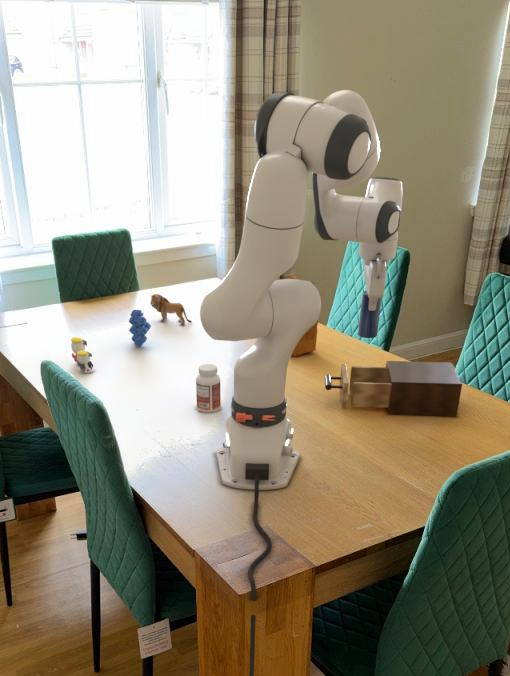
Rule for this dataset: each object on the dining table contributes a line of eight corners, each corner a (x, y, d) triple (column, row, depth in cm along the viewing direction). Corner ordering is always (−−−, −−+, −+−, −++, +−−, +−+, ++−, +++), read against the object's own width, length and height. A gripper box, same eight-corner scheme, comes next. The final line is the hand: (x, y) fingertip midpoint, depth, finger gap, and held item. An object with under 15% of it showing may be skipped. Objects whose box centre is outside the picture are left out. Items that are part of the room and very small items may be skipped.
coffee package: (299, 341, 235) (303, 270, 223) (320, 353, 225) (325, 280, 214) (271, 346, 231) (274, 274, 220) (291, 358, 222) (295, 284, 210)
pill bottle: (217, 402, 195) (216, 361, 189) (223, 411, 190) (223, 370, 184) (194, 404, 193) (193, 364, 188) (199, 414, 188) (199, 372, 183)
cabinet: (388, 414, 187) (392, 381, 182) (382, 392, 199) (386, 360, 195) (456, 417, 185) (462, 384, 180) (446, 394, 198) (452, 362, 193)
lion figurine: (148, 321, 254) (147, 295, 249) (155, 317, 258) (153, 291, 253) (188, 326, 249) (188, 299, 245) (194, 321, 254) (193, 295, 249)
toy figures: (95, 373, 213) (92, 345, 209) (80, 375, 212) (77, 347, 208) (84, 359, 223) (81, 332, 218) (70, 362, 221) (67, 334, 217)
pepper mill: (377, 338, 188) (383, 290, 181) (358, 337, 189) (364, 289, 182) (376, 332, 192) (382, 285, 185) (357, 331, 193) (362, 284, 186)
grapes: (158, 350, 230) (157, 311, 223) (138, 353, 227) (135, 314, 221) (145, 338, 239) (143, 301, 232) (126, 341, 236) (123, 304, 230)
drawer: (324, 408, 188) (326, 382, 185) (323, 387, 200) (325, 363, 196) (404, 410, 186) (407, 385, 183) (398, 390, 198) (401, 365, 194)
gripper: (394, 260, 170) (387, 319, 177) (387, 239, 187) (380, 294, 194) (366, 259, 170) (360, 318, 178) (362, 239, 188) (356, 293, 195)
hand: (370, 305), depth 186 cm, fingers closed on pepper mill, 5 cm apart
